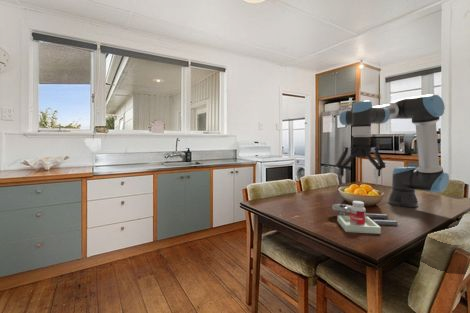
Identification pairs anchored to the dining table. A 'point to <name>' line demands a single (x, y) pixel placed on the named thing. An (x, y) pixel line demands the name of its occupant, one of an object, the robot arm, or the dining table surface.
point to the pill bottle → (357, 213)
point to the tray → (368, 228)
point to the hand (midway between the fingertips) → (359, 183)
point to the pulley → (342, 208)
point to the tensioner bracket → (381, 222)
